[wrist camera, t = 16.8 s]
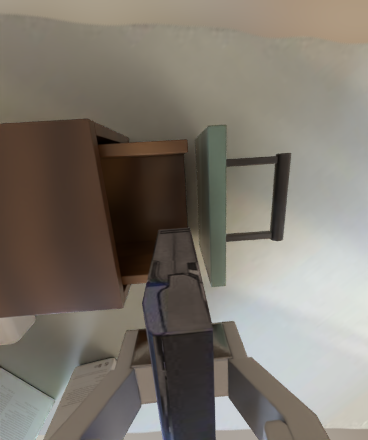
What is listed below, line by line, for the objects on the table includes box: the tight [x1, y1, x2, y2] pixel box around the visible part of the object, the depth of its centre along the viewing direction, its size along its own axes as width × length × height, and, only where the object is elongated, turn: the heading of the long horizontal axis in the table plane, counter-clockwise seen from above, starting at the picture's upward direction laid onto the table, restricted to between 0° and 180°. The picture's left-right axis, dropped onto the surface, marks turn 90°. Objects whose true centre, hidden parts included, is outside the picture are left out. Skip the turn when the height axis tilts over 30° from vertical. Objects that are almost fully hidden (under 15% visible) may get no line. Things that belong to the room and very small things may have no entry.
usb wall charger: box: [0, 315, 36, 345], centre depth 24 cm, size 4×7×4 cm, turn 3°
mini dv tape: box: [142, 228, 216, 440], centre depth 8 cm, size 8×2×6 cm, turn 4°
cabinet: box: [0, 119, 131, 318], centre depth 18 cm, size 15×13×10 cm
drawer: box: [98, 125, 291, 287], centre depth 18 cm, size 20×12×8 cm, turn 93°
